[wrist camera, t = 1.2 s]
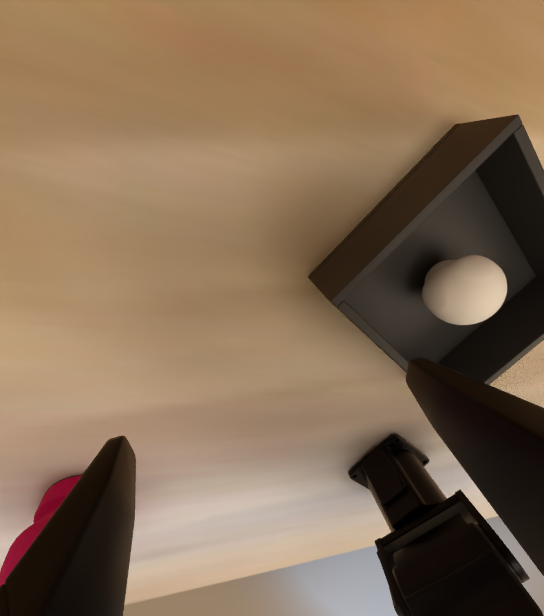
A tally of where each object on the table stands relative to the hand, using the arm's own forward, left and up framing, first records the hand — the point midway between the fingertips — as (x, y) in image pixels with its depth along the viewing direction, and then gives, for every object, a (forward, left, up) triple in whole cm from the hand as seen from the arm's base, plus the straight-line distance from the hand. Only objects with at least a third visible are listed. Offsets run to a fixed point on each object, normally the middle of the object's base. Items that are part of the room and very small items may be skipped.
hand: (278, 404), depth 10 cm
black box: (-11, -10, -13) cm, 19 cm away
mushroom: (-11, -10, -12) cm, 19 cm away
